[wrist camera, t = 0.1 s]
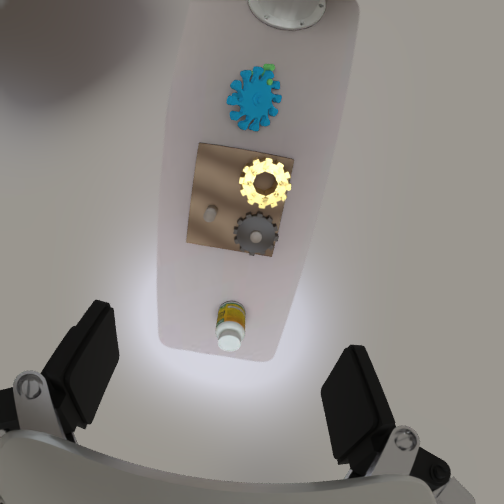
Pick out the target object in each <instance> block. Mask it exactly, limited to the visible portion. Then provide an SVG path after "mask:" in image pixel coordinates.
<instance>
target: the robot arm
mask: <svg viewBox="0 0 504 504" xmlns="http://www.w3.org/2000/svg"><path fill="white" fill-rule="evenodd" d="M248 3H249V7H250V9H251V11H252V13H253V14H254V15H255V16H256V17H257V18H258V19H259V20H261V21H262V22H264V23H265V24H267V25H269V26H272V27H275V28H279V29H283V30H300V29H305V28H307V27H310V26H312V25H314V24H315V23H317V22H318V21H319V20H320V19H321V17H322V16H323V14H324V12H325V8H326V2H325V0H248ZM266 18H267V19H268V20H266ZM300 24H302V26H301V25H300ZM118 360H119V349H118V342H117V335H116V326H115V317H114V310H113V308H111V307H110V304H109V303H107V302H103V301H100V300H95V301H94V302H93V303H92V305H91V306H90V307H89V309H88V310H87V311H86V313H85V314H84V315H83V317H82V318H81V320H80V321H79V322H78V324H77V325H76V326H73V327H72V328H71V329H70V330H69V331H68V333H67V334H66V336H65V337H64V338H63V340H62V341H61V343H60V344H59V346H58V347H57V349H56V350H55V352H54V353H53V355H52V356H51V358H50V359H49V361H48V362H47V364H46V366H45V367H44V369H43V370H42V372H41V373H38V372H36V371H25V372H22V373H21V374H19V375H18V376H17V377H16V379H15V380H14V383H13V387H11V388H8V389H3V390H0V504H475V499H474V497H473V496H472V495H471V494H470V493H469V492H468V491H467V490H466V489H465V488H464V487H463V486H462V485H461V484H460V483H459V482H458V481H457V480H456V479H455V478H454V477H452V478H450V475H451V473H450V468H449V466H448V465H447V463H446V462H445V461H443V460H442V459H440V458H438V457H436V456H435V455H433V454H431V453H429V452H428V451H426V450H424V449H423V448H421V447H419V445H420V440H419V436H418V434H417V433H416V432H415V430H413V429H412V428H410V427H408V426H398V427H396V426H395V420H394V418H393V415H392V412H391V410H390V407H389V405H388V402H387V399H386V397H385V394H384V392H383V389H382V387H381V384H380V382H379V379H378V377H377V375H376V372H375V370H374V368H373V365H372V363H371V360H370V358H369V356H368V353H367V351H366V349H365V347H364V346H362V345H350V346H349V347H348V348H345V349H344V351H343V353H342V354H341V356H340V358H339V360H338V361H337V363H336V365H335V366H334V368H333V370H332V371H331V373H330V375H329V377H328V378H327V380H326V381H325V383H324V384H323V386H322V388H321V397H322V402H323V407H324V411H325V416H326V421H327V426H328V431H329V435H330V441H331V445H332V451H333V456H334V458H335V459H337V461H338V465H340V464H348V463H349V464H350V470H349V472H348V473H347V475H346V476H345V478H344V479H343V480H334V481H323V482H311V483H286V484H285V483H284V484H271V483H269V484H268V483H242V482H231V481H221V480H212V479H204V478H197V477H191V476H185V475H180V474H175V473H170V472H165V471H161V470H156V469H153V468H148V467H144V466H141V465H137V464H134V463H130V462H127V461H123V460H121V459H117V458H114V457H111V456H108V455H105V454H102V453H99V452H96V451H93V450H91V449H88V448H86V447H83V446H81V445H78V443H77V440H76V438H75V435H74V433H73V432H74V431H75V429H76V427H77V426H78V427H81V428H83V429H85V428H86V426H87V424H91V423H92V421H93V419H94V416H95V414H96V411H97V409H98V407H99V404H100V402H101V399H102V397H103V394H104V392H105V390H106V388H107V385H108V383H109V381H110V378H111V376H112V374H113V372H114V369H115V367H116V365H117V363H118Z"/></svg>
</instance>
